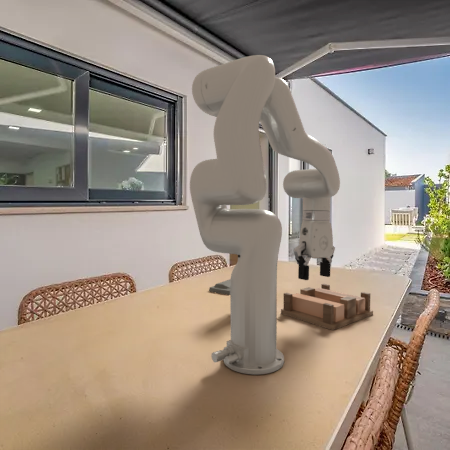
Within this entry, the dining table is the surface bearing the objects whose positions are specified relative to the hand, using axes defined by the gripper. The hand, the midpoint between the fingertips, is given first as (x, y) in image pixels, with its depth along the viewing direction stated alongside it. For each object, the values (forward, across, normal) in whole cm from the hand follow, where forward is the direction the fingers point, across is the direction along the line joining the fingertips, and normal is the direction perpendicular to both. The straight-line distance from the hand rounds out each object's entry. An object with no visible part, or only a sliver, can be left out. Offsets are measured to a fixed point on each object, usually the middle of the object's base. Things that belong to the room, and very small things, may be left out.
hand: (314, 277), depth 98 cm
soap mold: (+12, +6, +43) cm, 45 cm away
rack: (+12, +7, 0) cm, 13 cm away
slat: (+10, +2, 0) cm, 11 cm away
